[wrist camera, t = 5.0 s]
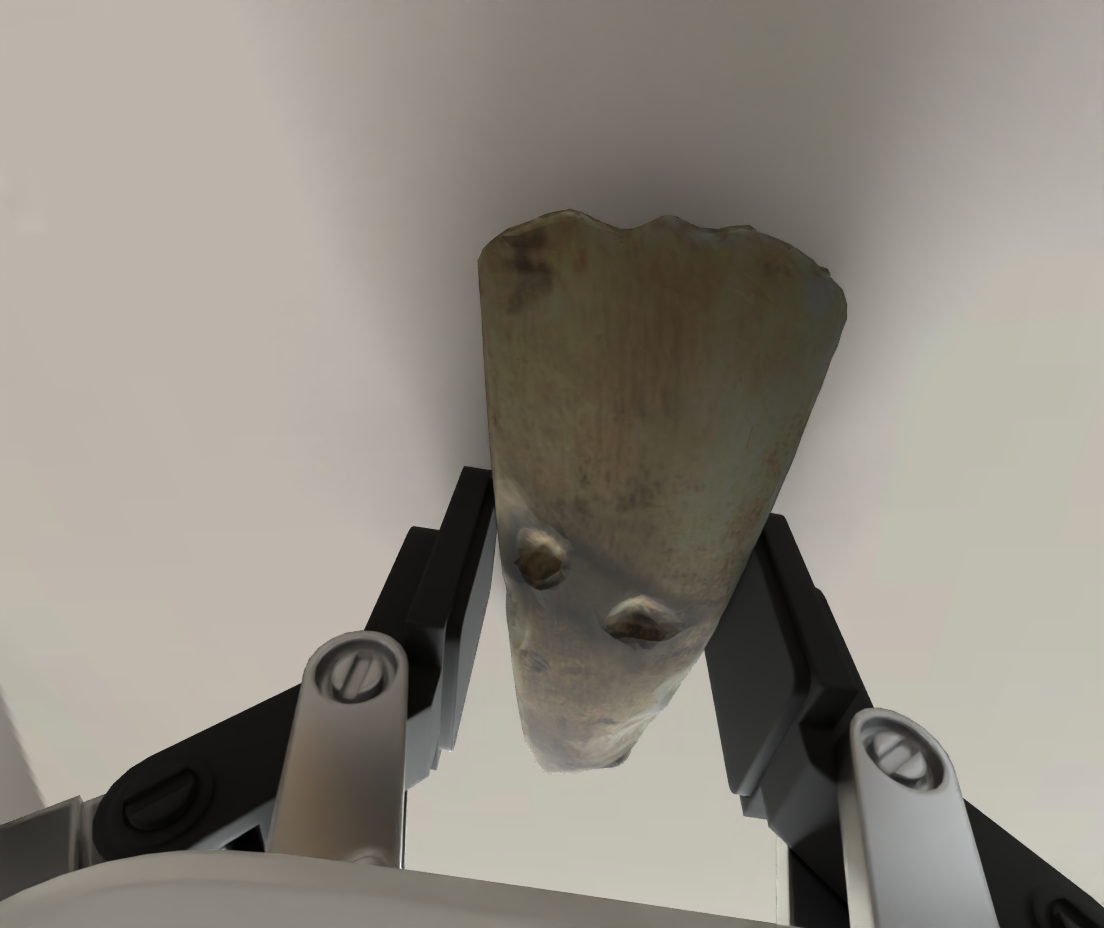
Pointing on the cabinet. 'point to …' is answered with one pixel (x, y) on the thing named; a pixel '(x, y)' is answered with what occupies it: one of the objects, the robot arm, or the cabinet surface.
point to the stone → (636, 451)
